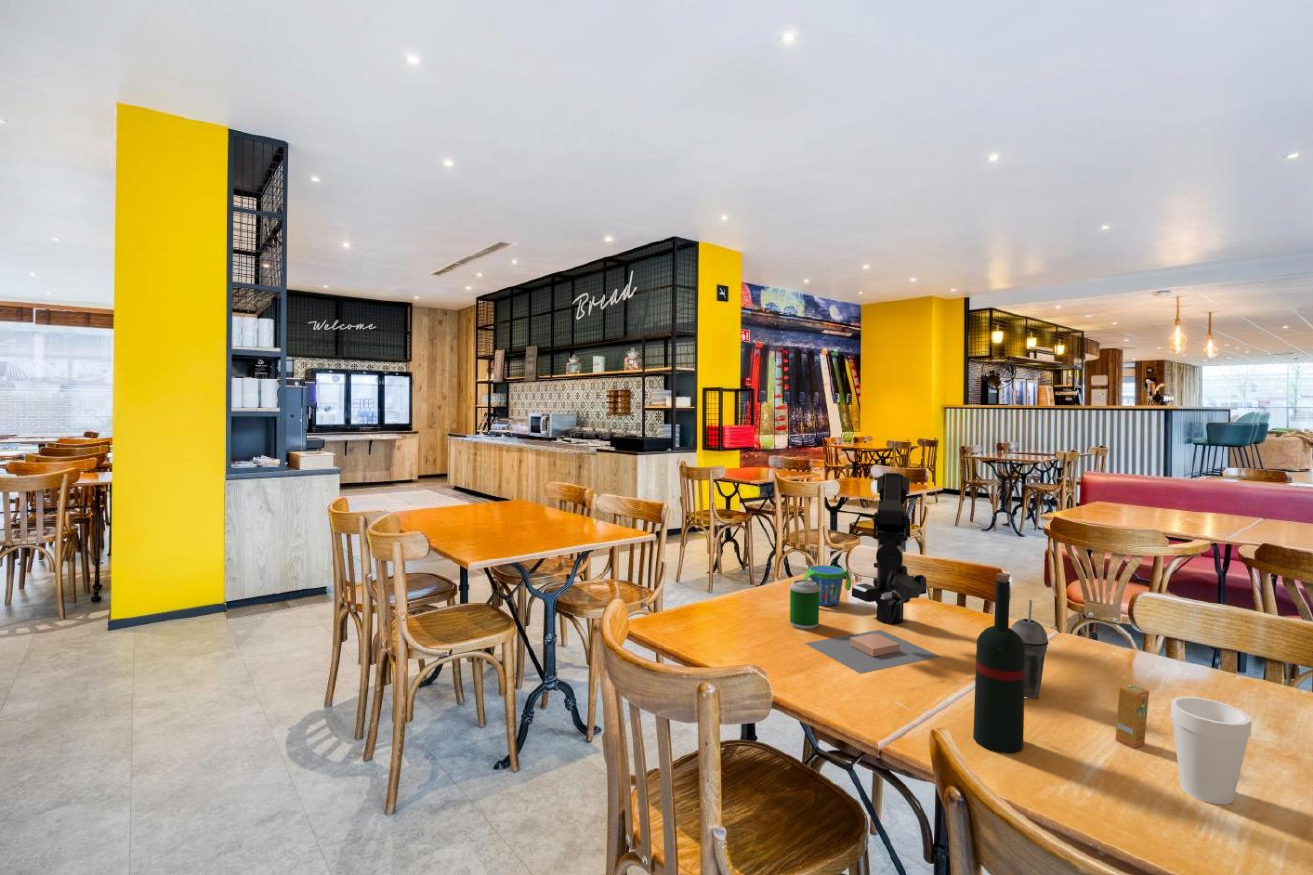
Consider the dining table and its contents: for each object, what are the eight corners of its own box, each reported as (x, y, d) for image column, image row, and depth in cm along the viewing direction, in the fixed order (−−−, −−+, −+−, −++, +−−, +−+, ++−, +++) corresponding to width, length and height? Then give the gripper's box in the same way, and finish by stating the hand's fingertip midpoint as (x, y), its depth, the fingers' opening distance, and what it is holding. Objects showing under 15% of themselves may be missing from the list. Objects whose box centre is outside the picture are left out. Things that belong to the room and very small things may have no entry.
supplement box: (1135, 749, 116) (1137, 693, 115) (1114, 740, 119) (1116, 685, 118) (1147, 745, 117) (1149, 689, 117) (1126, 736, 120) (1129, 682, 120)
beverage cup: (1042, 689, 140) (1045, 595, 139) (1050, 704, 133) (1054, 605, 132) (1003, 684, 142) (1006, 591, 141) (1009, 699, 135) (1012, 601, 134)
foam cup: (1179, 802, 101) (1183, 718, 100) (1158, 770, 109) (1162, 692, 109) (1259, 816, 97) (1263, 729, 97) (1231, 782, 106) (1235, 702, 105)
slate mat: (880, 631, 175) (880, 629, 175) (941, 659, 156) (941, 656, 156) (804, 645, 165) (804, 643, 165) (860, 676, 147) (860, 673, 147)
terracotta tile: (875, 633, 166) (850, 637, 163) (899, 643, 159) (873, 649, 156) (875, 641, 166) (849, 645, 163) (899, 652, 159) (872, 657, 156)
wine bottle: (1037, 740, 119) (1043, 573, 117) (1009, 758, 113) (1015, 583, 111) (993, 723, 125) (997, 564, 124) (964, 739, 119) (969, 573, 118)
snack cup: (841, 596, 206) (842, 563, 206) (859, 606, 196) (859, 572, 196) (794, 599, 203) (794, 566, 203) (809, 610, 193) (809, 575, 192)
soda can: (821, 632, 174) (822, 586, 174) (792, 632, 175) (793, 586, 174) (815, 622, 182) (815, 579, 181) (787, 622, 182) (787, 578, 181)
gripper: (884, 572, 150) (882, 640, 151) (945, 564, 158) (943, 629, 159) (850, 561, 161) (849, 625, 161) (909, 554, 168) (908, 615, 169)
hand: (888, 624), depth 162 cm, fingers closed
